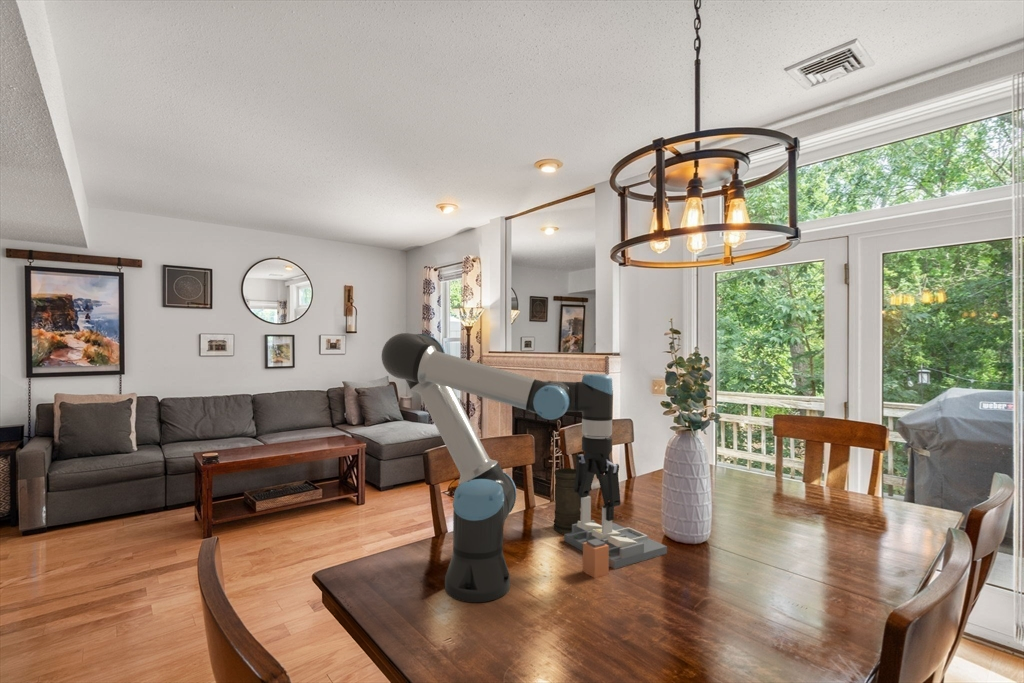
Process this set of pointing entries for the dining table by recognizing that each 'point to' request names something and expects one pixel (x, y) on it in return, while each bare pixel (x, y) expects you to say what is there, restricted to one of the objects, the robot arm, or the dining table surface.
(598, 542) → the orange block
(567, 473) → the container
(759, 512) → the dining table surface
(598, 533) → the plate
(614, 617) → the dining table surface
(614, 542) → the rocker near
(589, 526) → the rocker far
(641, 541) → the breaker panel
